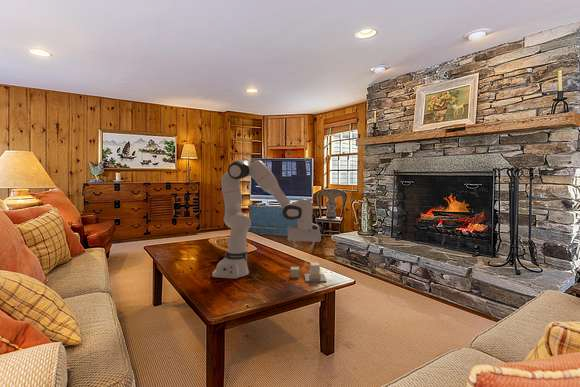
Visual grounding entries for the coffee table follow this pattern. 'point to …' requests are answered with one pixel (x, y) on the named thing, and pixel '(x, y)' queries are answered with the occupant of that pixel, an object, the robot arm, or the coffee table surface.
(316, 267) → the cream brick
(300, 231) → the robot arm
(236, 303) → the coffee table surface
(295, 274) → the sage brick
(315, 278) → the build pad
